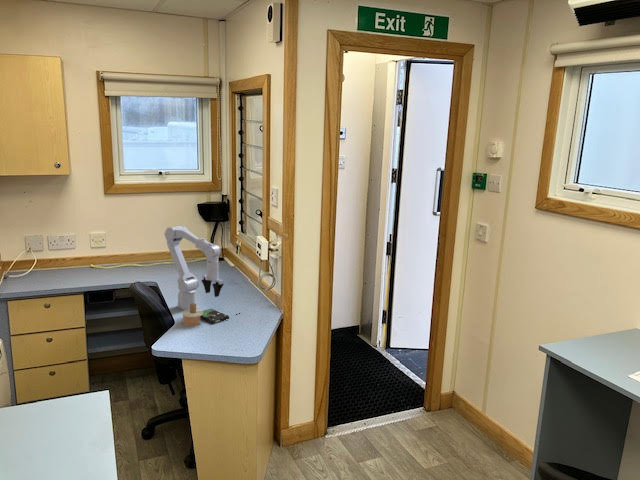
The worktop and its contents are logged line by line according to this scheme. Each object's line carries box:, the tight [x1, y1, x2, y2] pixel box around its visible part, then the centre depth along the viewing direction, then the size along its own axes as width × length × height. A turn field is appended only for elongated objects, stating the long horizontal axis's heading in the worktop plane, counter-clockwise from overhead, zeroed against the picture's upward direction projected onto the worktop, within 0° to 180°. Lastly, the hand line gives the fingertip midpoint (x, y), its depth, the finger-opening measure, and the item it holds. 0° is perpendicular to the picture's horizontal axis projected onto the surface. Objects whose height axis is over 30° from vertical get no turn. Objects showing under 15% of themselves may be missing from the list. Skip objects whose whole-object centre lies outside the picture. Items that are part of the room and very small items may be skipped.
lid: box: [181, 303, 204, 317], centre depth 249 cm, size 10×10×5 cm
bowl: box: [182, 315, 201, 327], centre depth 250 cm, size 8×8×4 cm
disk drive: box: [200, 308, 230, 325], centre depth 257 cm, size 10×3×15 cm
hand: (212, 294), depth 262 cm, fingers open, 7 cm apart
